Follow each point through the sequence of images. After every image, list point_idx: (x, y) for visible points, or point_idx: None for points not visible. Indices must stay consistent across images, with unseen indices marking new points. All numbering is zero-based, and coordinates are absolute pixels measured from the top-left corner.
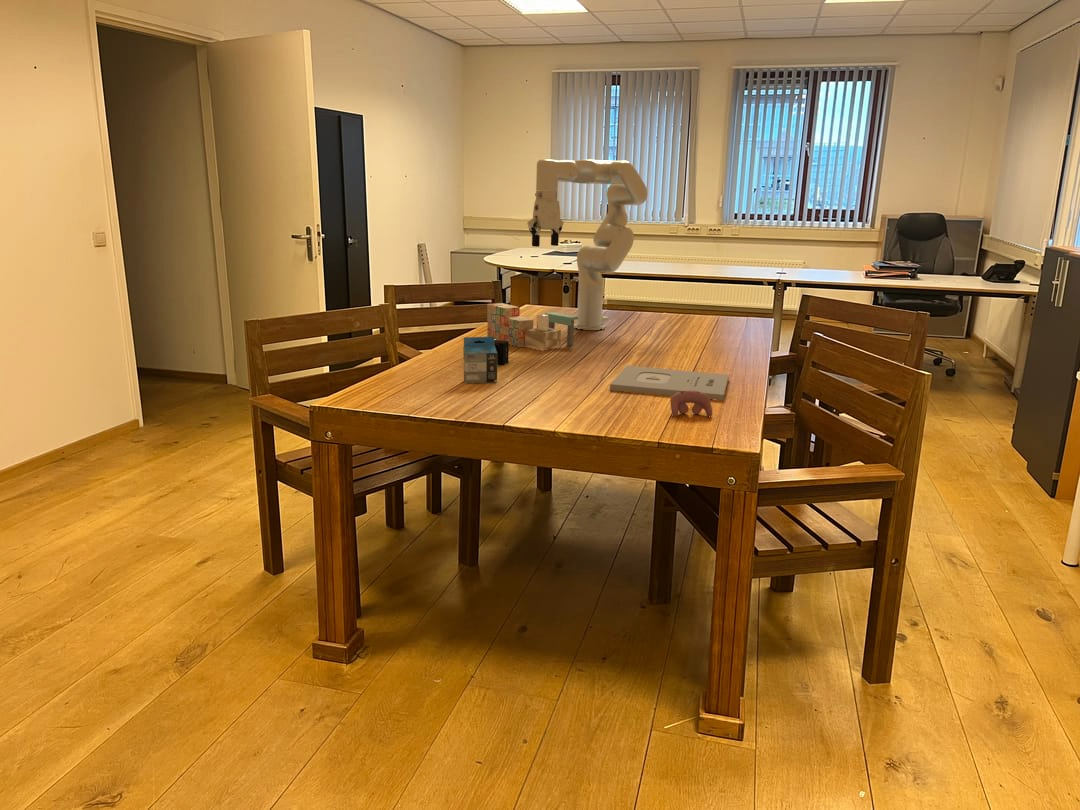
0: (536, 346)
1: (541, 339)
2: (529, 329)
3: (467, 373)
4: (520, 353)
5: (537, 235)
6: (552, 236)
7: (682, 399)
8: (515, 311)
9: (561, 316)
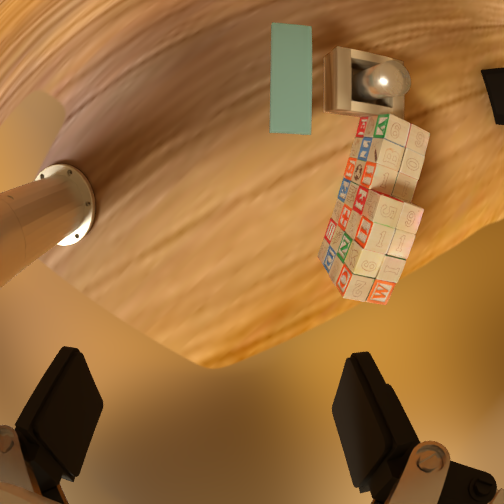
0: None
1: None
2: (393, 114)
3: None
4: (428, 91)
5: (405, 447)
6: (74, 455)
7: None
8: (388, 196)
9: (311, 61)
